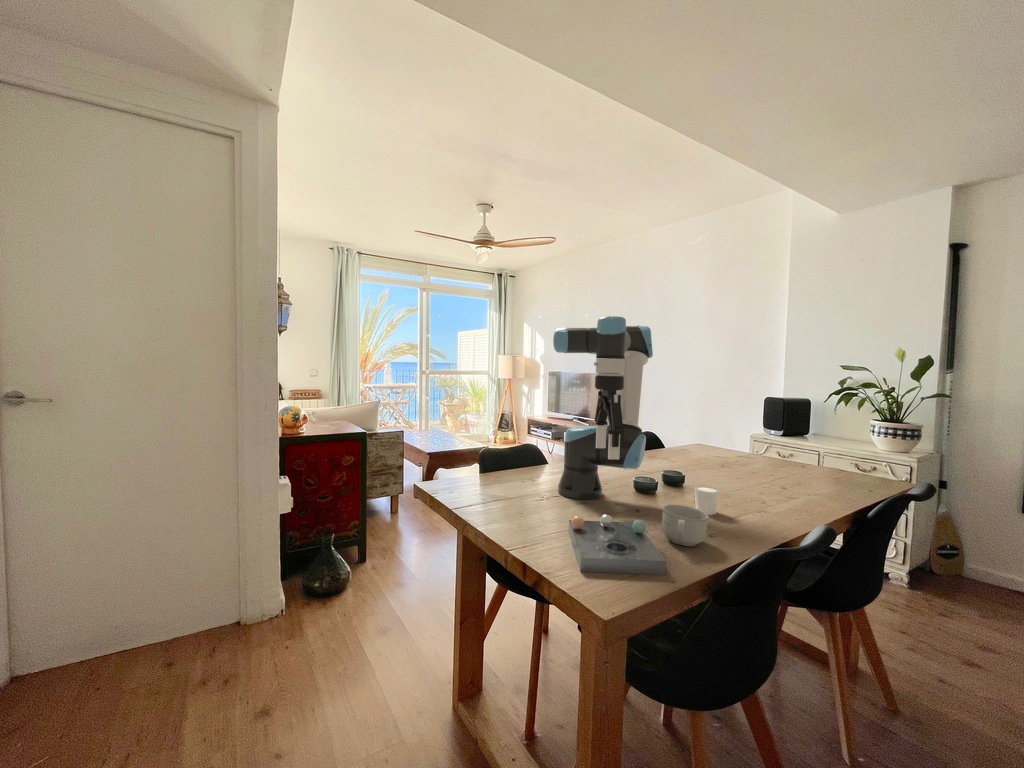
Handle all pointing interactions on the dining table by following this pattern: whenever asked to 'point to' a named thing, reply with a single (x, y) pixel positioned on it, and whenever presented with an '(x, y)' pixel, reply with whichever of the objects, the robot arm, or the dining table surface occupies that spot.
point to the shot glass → (706, 499)
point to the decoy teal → (639, 526)
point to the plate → (615, 549)
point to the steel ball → (606, 520)
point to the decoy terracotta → (577, 522)
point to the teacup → (684, 524)
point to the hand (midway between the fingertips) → (606, 453)
